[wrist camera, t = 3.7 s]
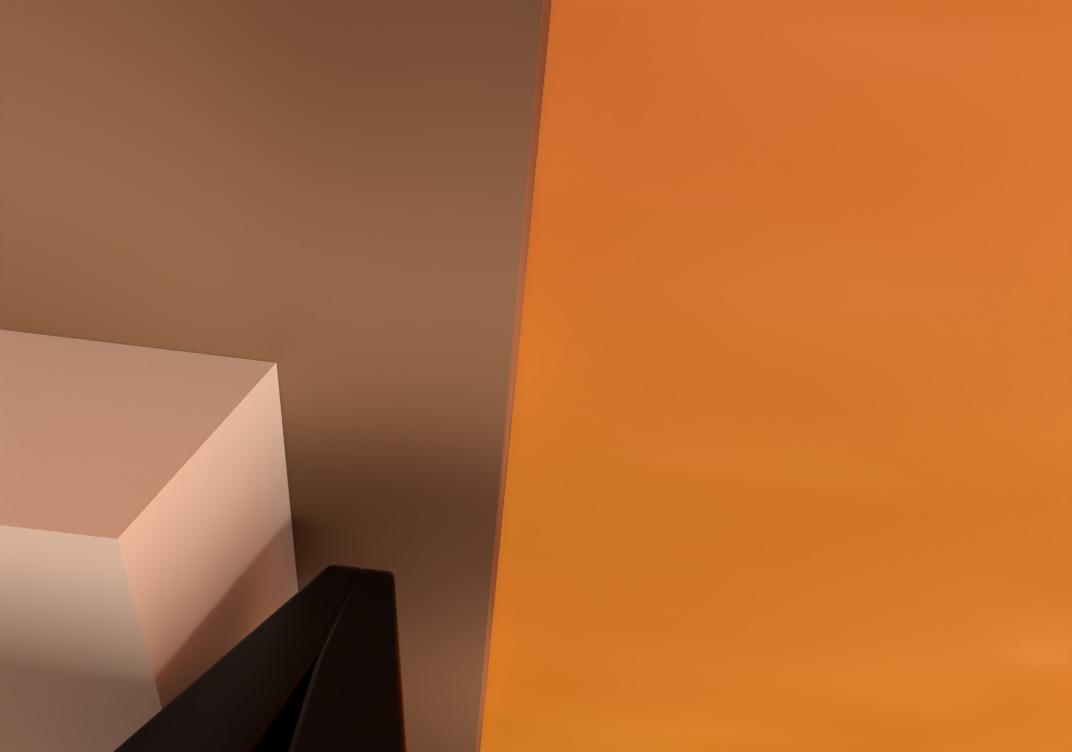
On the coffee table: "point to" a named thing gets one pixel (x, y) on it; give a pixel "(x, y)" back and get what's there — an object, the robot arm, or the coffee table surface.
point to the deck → (305, 258)
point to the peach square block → (130, 530)
